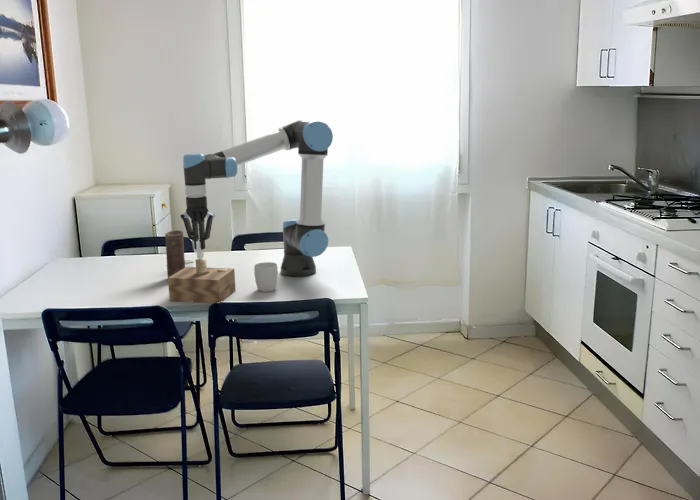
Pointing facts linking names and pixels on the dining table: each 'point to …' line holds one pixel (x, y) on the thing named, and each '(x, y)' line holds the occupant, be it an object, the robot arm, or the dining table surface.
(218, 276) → the socket block
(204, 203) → the robot arm
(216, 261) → the dining table surface
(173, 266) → the brown cylindrical vase
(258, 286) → the mug
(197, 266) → the beech dowel
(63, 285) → the dining table surface
